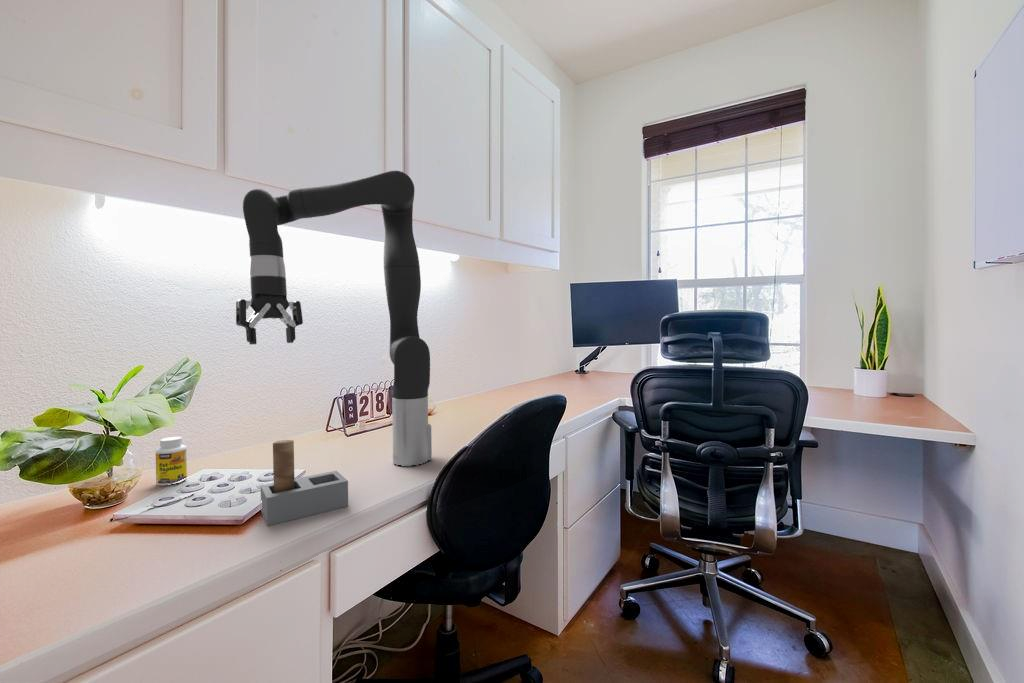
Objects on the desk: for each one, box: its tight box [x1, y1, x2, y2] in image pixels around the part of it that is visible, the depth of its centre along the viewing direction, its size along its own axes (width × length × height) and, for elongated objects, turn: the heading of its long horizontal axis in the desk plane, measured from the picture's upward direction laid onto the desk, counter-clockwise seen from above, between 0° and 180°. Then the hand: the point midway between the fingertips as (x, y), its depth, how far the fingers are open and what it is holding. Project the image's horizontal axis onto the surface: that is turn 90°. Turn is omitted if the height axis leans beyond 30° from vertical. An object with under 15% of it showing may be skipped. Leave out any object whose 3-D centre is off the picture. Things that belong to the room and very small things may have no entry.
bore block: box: [260, 470, 349, 527], centre depth 83 cm, size 14×8×5 cm, turn 128°
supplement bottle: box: [155, 436, 188, 486], centre depth 98 cm, size 6×6×10 cm
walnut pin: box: [272, 439, 296, 494], centre depth 81 cm, size 4×4×12 cm
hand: (272, 343), depth 103 cm, fingers open, 8 cm apart
